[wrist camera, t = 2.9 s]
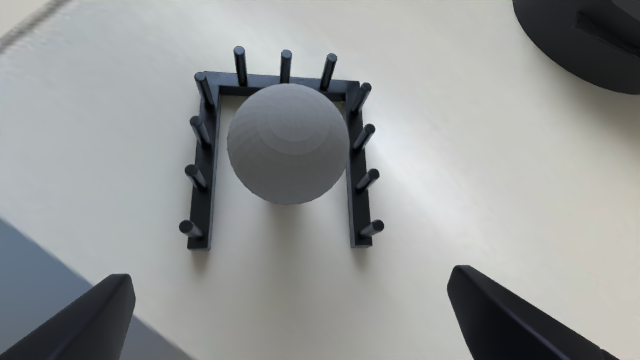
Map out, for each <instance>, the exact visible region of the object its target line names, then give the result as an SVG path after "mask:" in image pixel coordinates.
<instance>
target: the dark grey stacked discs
mask: <svg viewBox="0 0 640 360" xmlns="http://www.w3.org/2000/svg"><path fill="white" fill-rule="evenodd" d="M513 4H514V10H515V13H516V15H517V18H518V20H519V22H520V24H521V26H522V27H523V29H524V30H525V32H526V33H527V35H528V36H529V37H530V38H531V39H532V40H533V42H534V43H535V44H536V45H537V46H538V47H539V48H540V49H541V50H542V51H543V52H544V53H545V54H546V55H548V56H549V57H550V58H551V59H552V60H554V61H555V62H556V63H558V64H559V65H560V66H562V67H563V68H565V69H566V70H568V71H569V72H571V73H573V74H574V75H576V76H578V77H580V78H581V79H583V80H585V81H588V82H590V83H592V84H594V85H597V86H599V87H602V88H605V89H608V90H611V91H615V92H620V93H625V94H631V95H640V0H513Z"/></svg>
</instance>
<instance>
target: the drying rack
mask: <svg viewBox="0 0 640 360" xmlns="http://www.w3.org/2000/svg"><path fill="white" fill-rule="evenodd" d="M234 58H235V65H236V72H237V73H223V72H208V71H204V72H198V73H196V74H195V76H194V78H195V81H196V84H197V87H198V90H199V93H200V95H201V103H200V114H199V116H193V117H192V118H191V119H190V124H191V126H192V128H193V130H194V133H195V135H196V137H197V146H196V157H195V165H193V164H190V165H188V166H187V167H186V168H185V173H186V175H187V176H188V178H189V179H190V180H191V182H192V183H193V190H192V201H191V212H190V220H184V221H182V222H181V223H180V225H179V229H180V231H181V232H182V233H184V234H185V235H187V236H188V244H187V249H189V250H191V251H209V250H210V249H211V237H212V223H213V208H214V194H215V180H216V166H217V151H218V137H219V123H220V109H221V95H234V96H252V95H253V94H255V93H256V92H258V91H260V90H261V89H264V88H266V87H269V86H272V85H278V84H298V85H304V86H306V87H309V88H312V89H314V90H316V91H318V92H320V93H321V94H323V95H324V96H325V97H327V98H328V99H329V100H330V101H342V105H343V119H344V121H345V124H346V127H347V130H348V135H349V142H350V145H349V157H348V161H347V164H346V172H347V189H348V206H349V223H350V239H351V248H368V247H371V246H372V235H375V234H377V233H379V232H381V231H382V230H383V229H384V223H383V222H382V221H381V220H375V221H373V222H371V221H370V208H369V196H368V188H369V187H370V186H371V185H372V184H373V183H374V182H375V181H376V180H377V179H378V178H379V171H378V170H377V169H370V170H369V171H368V172H367V170H366V158H365V145H366V144H367V142H368V141H369V139H370V138H371V136H372V135H373V133H374V132H375V127H374V125H372V124H367V125H365V127H364V129H363V120H362V106H363V104H364V102H365V100H366V99H367V97H368V95H369V93H370V91H371V89H372V87H371V85H370V84H369V83H363V84H362V85H361V87H360V83H359V81H347V80H331V78H332V74H333V71H334V68H335V64H336V61H337V56H336V55H335V54H333V53H330V54H328V55H327V58H326V62H325V66H324V70H323V74H322V77H321V79H315V78H300V77H290V69H291V60H292V53H291V51H289V50H283V51H282V53H281V66H280V76H269V75H254V74H247V68H246V58H245V50H244V48H243V47H241V46H237V47H235V48H234Z"/></svg>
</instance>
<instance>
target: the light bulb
mask: <svg viewBox="0 0 640 360" xmlns="http://www.w3.org/2000/svg"><path fill="white" fill-rule="evenodd" d="M349 145H350V142H349V135H348V130H347V127H346V124H345V121H344V119H343V117H342V115H341V114H340V112H339V110H338V109H337V108H336V106H335V105H334V104H333V103H332V102H331V101H330V100H329V99H328V98H327V97H325V96H324V95H323V94H321V93H320V92H318V91H316V90H314V89H312V88H309V87H306V86H304V85H298V84H278V85H272V86H269V87H266V88H264V89H261V90H260V91H258V92H256V93H255V94H253V95H252V96H250V97H249V98H248V99H247V100H246V101H245V102H244V103H243V104H242V105H241V106H240V108H239V109H238V110H237V112H236V113H235V115H234V117H233V119H232V122H231V124H230V127H229V132H228V137H227V150H228V154H229V159H230V162H231V165H232V167H233V169H234V171H235V173H236V175H237V177H238V178H239V179H240V180H241V182H242V183H243V184H244V186H245V187H247V188H248V189H249V190H250V191H251V192H252V193H254V194H255V195H257V196H259V197H261V198H262V199H264V200H267V201H270V202H273V203H277V204H284V205H292V204H301V203H305V202H309V201H312V200H314V199H316V198H318V197H320V196H321V195H323V194H324V193H325V192H327V191H328V190H329V189H331V188H332V186H333V185H334V184H335V183H336V182H337V181H338V179H339V178H340V176H341V175H342V173H343V171H344V169H345V167H346V164H347V161H348V157H349Z"/></svg>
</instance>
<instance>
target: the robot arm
mask: <svg viewBox="0 0 640 360" xmlns="http://www.w3.org/2000/svg"><path fill="white" fill-rule="evenodd" d="M447 292H448V296H449V299H450V301H451V304H452V307H453V309H454V312H455V315H456V318H457V320H458V323H459V326H460V329H461V331H462V334H463V337H464V339H465V342H466V344H467V346H468V348H469V350H470V353H471V355H472V357H473V359H474V360H619V359H618V358H616V357H615V356H613V355H611V354H610V353H608V352H607V351H605V350H603V349H600V347H599V346H597V345H595V344H594V343H592V342H591V341H589V340H587V339H586V338H584V337H583V336H581V335H580V334H578V333H576V332H575V331H573V330H572V329H570V328H568V327H567V326H565V325H564V324H562V323H560V322H559V321H557V320H556V319H554V318H552V317H551V316H549V315H548V314H546V313H545V312H543V311H541V310H540V309H538V308H537V307H535V306H533V305H532V304H530V303H529V302H527V301H525V300H524V299H522V298H521V297H519V296H517V295H516V294H514V293H513V292H511V291H510V290H508V289H506V288H505V287H503V286H502V285H500V284H498V283H497V282H495V281H494V280H492V279H490V278H489V277H487V276H486V275H484V274H482V273H481V272H479V271H478V270H476V269H475V268H473V267H471V266H469V265H457V266H455V267H454V268H453V270H452V273H451V276H450V279H449V282H448V285H447ZM135 301H136V298H135V293H134V288H133V284H132V280H131V277H130V275H129V274H111V275H109V276H108V277H106V278H105V279H104V280H102V281H101V282H100V283H98V284H97V285H95V286H94V287H93V288H91V289H90V290H89V291H87V292H86V293H84V294H83V295H82V296H80V297H79V298H78V299H76V300H75V301H74V302H72V303H71V304H69V305H68V306H67V307H65V308H64V309H63V310H61V311H60V312H59V313H57V314H56V315H55V316H53V317H52V318H50V319H49V320H48V321H46V322H45V323H44V324H42V325H41V326H39V327H38V328H37V329H35V330H34V331H32V332H31V333H30V334H28V335H27V336H26V337H24V338H23V339H21V340H20V341H19V342H17V343H16V344H15V345H13V346H12V347H10V348H9V349H8V350H6V351H5V352H4V353H2V354H1V355H0V360H119V358H120V355H121V351H122V348H123V344H124V341H125V338H126V334H127V331H128V327H129V323H130V321H131V317H132V314H133V310H134V307H135Z"/></svg>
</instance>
